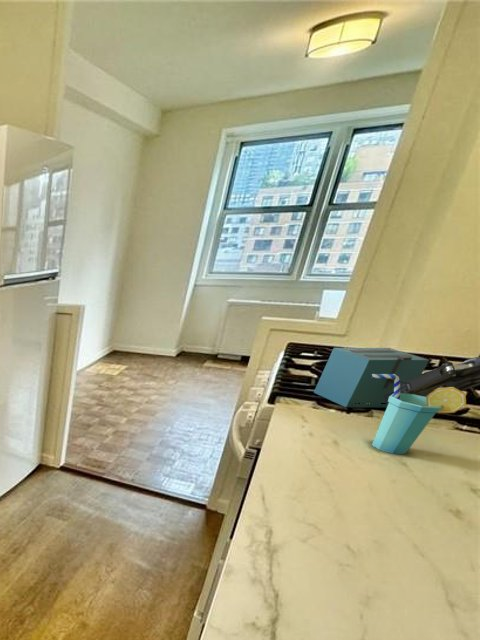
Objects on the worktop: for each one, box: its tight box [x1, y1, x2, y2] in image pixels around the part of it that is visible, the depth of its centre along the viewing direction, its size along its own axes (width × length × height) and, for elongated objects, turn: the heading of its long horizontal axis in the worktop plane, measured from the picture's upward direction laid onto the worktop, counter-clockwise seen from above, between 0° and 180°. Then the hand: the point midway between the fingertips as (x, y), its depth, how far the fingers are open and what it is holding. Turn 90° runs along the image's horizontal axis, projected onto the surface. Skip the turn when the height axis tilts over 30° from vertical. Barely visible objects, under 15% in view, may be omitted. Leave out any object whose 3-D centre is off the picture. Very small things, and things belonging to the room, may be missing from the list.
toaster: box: [313, 347, 430, 408], centre depth 118 cm, size 14×12×13 cm
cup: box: [371, 374, 467, 455], centre depth 95 cm, size 14×8×15 cm, turn 57°
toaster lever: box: [387, 378, 436, 397], centre depth 110 cm, size 4×9×2 cm, turn 0°
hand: (396, 400), depth 113 cm, fingers closed on toaster lever, 4 cm apart
